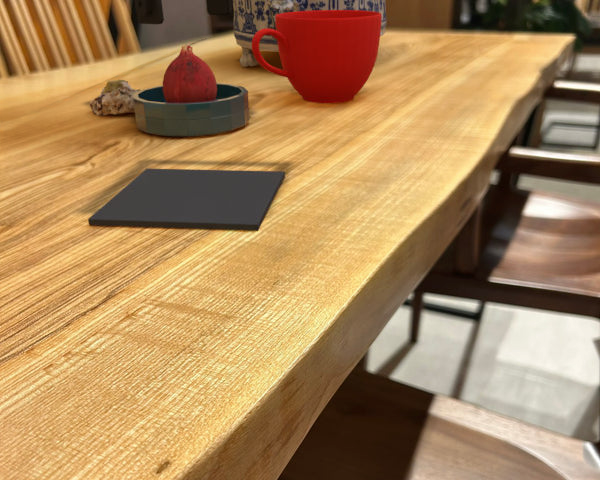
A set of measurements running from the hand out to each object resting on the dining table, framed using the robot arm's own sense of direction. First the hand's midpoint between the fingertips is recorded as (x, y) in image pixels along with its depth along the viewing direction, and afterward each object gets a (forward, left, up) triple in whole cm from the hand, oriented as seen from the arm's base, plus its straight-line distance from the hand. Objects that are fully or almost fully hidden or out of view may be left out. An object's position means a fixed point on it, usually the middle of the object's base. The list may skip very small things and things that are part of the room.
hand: (187, 19), depth 66 cm
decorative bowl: (+7, +52, -11) cm, 53 cm away
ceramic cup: (+12, +14, -11) cm, 21 cm away
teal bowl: (0, 0, -11) cm, 11 cm away
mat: (+7, -24, -11) cm, 27 cm away
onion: (0, 0, -11) cm, 11 cm away
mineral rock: (-11, +8, -11) cm, 18 cm away
